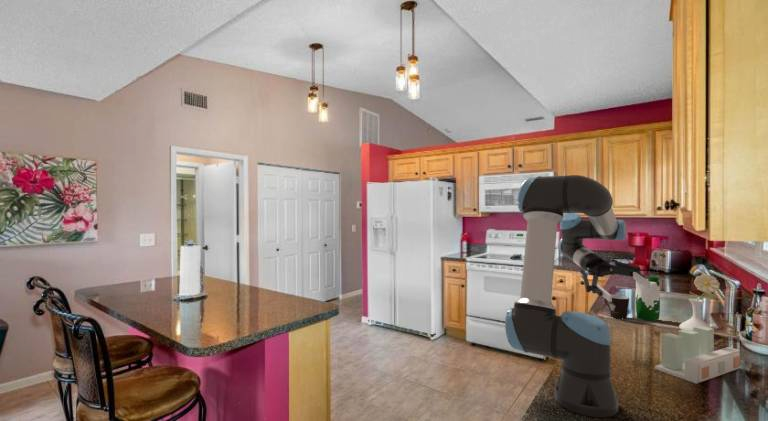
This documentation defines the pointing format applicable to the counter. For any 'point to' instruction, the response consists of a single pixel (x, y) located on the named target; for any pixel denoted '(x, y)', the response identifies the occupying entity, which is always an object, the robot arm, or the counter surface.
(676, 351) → the pale green tall block
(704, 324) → the flower in vase
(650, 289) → the milk carton
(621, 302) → the coffee mug
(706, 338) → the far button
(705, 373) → the pattern card
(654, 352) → the counter surface
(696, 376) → the button panel
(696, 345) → the middle button
